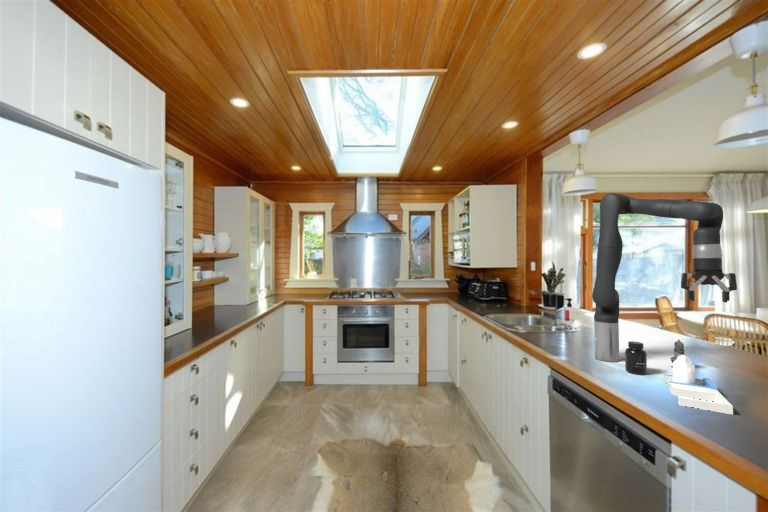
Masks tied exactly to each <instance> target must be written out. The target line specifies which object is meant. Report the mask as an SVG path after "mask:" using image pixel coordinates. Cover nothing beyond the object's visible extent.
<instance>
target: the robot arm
mask: <svg viewBox="0 0 768 512" xmlns="http://www.w3.org/2000/svg"><path fill="white" fill-rule="evenodd" d="M633 214H634V215H644V216H645V215H646V216H647V215H648V216H650V217H651V216H652V217H658V218H667V219H680V220H681V219H683V220H689V221H695V222H697V229H695V230H694V231H693V233H692V234H693V235H692V243H693V244H692V272H690V273H689V272H682V273H681V279H680V288H681V289H684V290H687V298H688V300H689V301H690V302H695V289H696V288H697V287H698V286H700V285H703V286H709V285H710V286H717V287H719V288H720V289H721V290H722V291H721V295H722V296H721V297H722V298H721V301H722V302H723V303H728V302H729V301H730V293H731V292H733V291H737V290H738V286H737V275H736V273H735V272H734V273H733V272H729V273H724V272H723V253H722V252H723V251H722V246H721V245H722V244H721V229H722V224H723V220H724V210H723V207H722V206H721V205H720V204H718V203H715V202H709V201H698V200H696V201H691V200H690V201H689V200H687V201H685V200H681V199H680V200H679V199H663V198H662V199H658V198H657V199H641V198H636V197H631V196H629V195H628V196H627V195H624V194H621V193H615V192H608V193H605V195H604V196H603V197H602V198H601V200H600V202H599V232H598V233H599V234H598V242H597V252H596V275H595V280H594V285H593V290H592V293H591V298H592V301H593V302H594V304H595V311H594V315H593V320H594V321H593V322H594V323H593V324H594V325H593V328H594V339H593V340H594V359H595V360H599V361H602V362H612V363H615V362H616V363H617V362H619V361H620V331H619V329H620V328H619V324H620V323H619V317H620V295H619V292H618V290H617V289H616V277H617V273H618V272H619V267H620V264H621V261H622V256H623V248H624V247H623V239H622V236H621V233H620V229H619V216H620V215H633ZM691 277H692V278H693V279H694V281H692V282H691V284H690V285H689V286H688V280H689V279H690V278H691ZM724 278H726V280H728V285H729V287H728V286H727V285H726V284H725V283H724V282H723V281H722V280H723V279H724Z"/></svg>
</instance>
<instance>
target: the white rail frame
mask: <svg viewBox="0 0 768 512" xmlns="http://www.w3.org/2000/svg"><path fill="white" fill-rule="evenodd" d="M663 377H664V378H663V379H664V380H663V382H664V383H665V384H669V387H668V388H669V391H670V393H671V394H672V396H675V397H677V398H678V405H679V406H680V407H685V406H687V408H691V407H694V408H693V409H697V408H699V409H698V410H703V411H708V410H710V411H709V412H714V411H715V413H716V412H717V413H722V414H726V415H734V406H733V404H731V403H730V402H729V401H728V399H726V397H724V395H722V394H721V392H720V391H719V390H718V386H717V384H715V383H714V381H712V380H711V379H710V378H709V377H708V378H707V377H702V378H696V377H695V385H692V384H685V383H678V382H673V374H672V375H671V374H663ZM693 398H694V399H693ZM699 399H701V400H699ZM706 400H707V401H706ZM712 401H714V402H712Z"/></svg>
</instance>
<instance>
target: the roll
mask: <svg viewBox="0 0 768 512" xmlns="http://www.w3.org/2000/svg"><path fill="white" fill-rule="evenodd" d="M672 366H673V368H672V375H673V382H678V383H685V384H692V385H695V378H696V367H695V363H694V362H693V361H691V358H690V357H688V356H686V355H685V354H684V355H681V356H678V358H677V359H676V360H675V361H674V362H673V363H672Z"/></svg>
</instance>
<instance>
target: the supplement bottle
mask: <svg viewBox="0 0 768 512" xmlns="http://www.w3.org/2000/svg"><path fill="white" fill-rule="evenodd" d="M627 346H628V347H627V348H626V349H625V353H624V354H625V359H624V362H625V363H624V364H625V367H624V368H625V371H626V372H627V373H629V374H634V375H639V376H644V375H645V376H646V374H647V373H648V371H647V367H648V366H647V365H648V364H647V363H648V361H647V351H645V350H644V343H643V342H639V341H628V344H627Z"/></svg>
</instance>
